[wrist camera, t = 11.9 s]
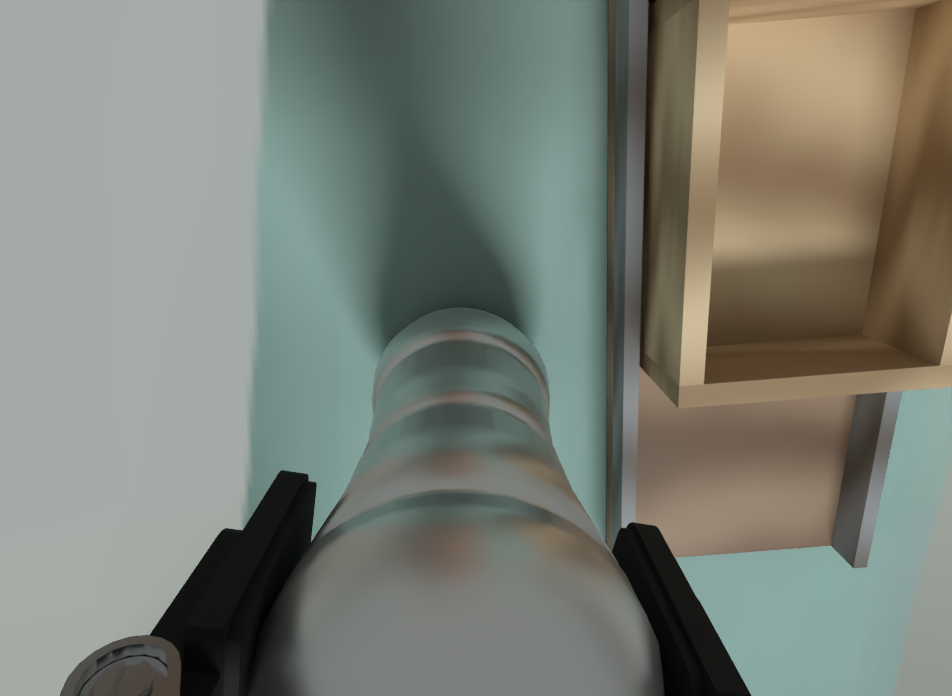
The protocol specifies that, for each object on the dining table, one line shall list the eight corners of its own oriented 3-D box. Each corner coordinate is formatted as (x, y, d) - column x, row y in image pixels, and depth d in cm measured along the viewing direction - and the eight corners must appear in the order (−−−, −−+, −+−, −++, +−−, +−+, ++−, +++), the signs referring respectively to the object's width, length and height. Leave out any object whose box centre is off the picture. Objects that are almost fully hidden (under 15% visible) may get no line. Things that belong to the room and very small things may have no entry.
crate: (860, 344, 21) (959, 386, 17) (635, 361, 21) (678, 408, 17) (920, -12, 17) (1068, -73, 13) (643, 11, 17) (701, -42, 13)
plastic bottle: (386, 288, 21) (-348, 1275, 2) (550, 301, 21) (1196, 1289, 2) (381, 429, 23) (-18, 1582, 4) (531, 440, 23) (799, 1571, 4)
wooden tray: (833, 533, 25) (893, 592, 22) (606, 551, 25) (629, 612, 22) (932, -45, 18) (1051, -101, 14) (608, -18, 18) (644, -67, 14)
